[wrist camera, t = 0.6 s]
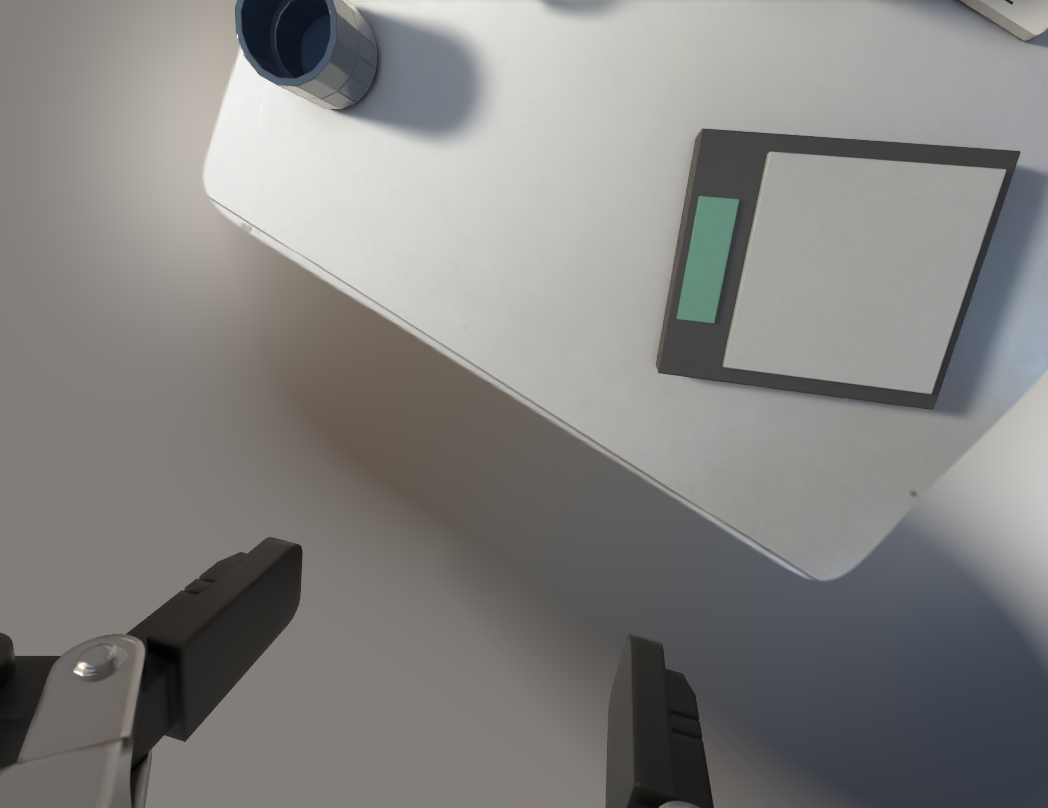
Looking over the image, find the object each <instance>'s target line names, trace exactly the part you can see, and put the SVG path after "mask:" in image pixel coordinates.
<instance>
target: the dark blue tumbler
mask: <svg viewBox="0 0 1048 808" xmlns="http://www.w3.org/2000/svg"><path fill="white" fill-rule="evenodd" d="M235 21H236V33H237V37H238V40H239V43H240V45H241V48H242V51H243V54H244V56H245V58H246V59H247V60H248V62H249V63H250V64H251V65H252V67H253V68H254V69H255V70H256V72H257V73H258V74H259V75H260V76H262V77H264V78H265V79H267V80H269V81H271V82H273V83H274V84H276V85H278V86H280V87H282V88H284V89H286V90H288V91H290V92H292V93H294V94H296V95H298V96H300V97H302V98H304V99H306V100H308V101H310V102H312V103H314V104H316V105H318V106H321V107H323V108H328V109H343V108H345V107H348V106H350V105H352V104H355V103H356V102H358V101H359V100H360V99H361V97H362V96H363V95H364V94H365V93H366V92H367V91H368V90H369V88H370V86H371V84H372V81H373V78H374V76H375V73H376V68H377V45H376V42H375V39H374V36H373V33H372V30H371V27H370V25H369V24H368V23H367V21H366V20H365V19H364V17H363V16H362V15H361V13H360V12H359V11H358V10H357V9H356V8H355V7H354V6H353V5H352V4H351V3H350V2H348V1H347V0H237V3H236V6H235Z"/></svg>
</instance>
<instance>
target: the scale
mask: <svg viewBox="0 0 1048 808" xmlns="http://www.w3.org/2000/svg"><path fill="white" fill-rule="evenodd" d="M1019 155H1020V151H1010V150H996V149H982V148H968V147H954V146H940V145H926V144H912V143H898V142H884V141H869V140H855V139H841V138H827V137H813V136H799V135H785V134H771V133H757V132H743V131H729V130H715V129H701V131H700V133H699V134H698V136H697V137H696V140H695V145H694V151H693V157H692V162H691V168H690V174H689V180H688V185H687V191H686V197H685V202H684V208H683V214H682V219H681V225H680V231H679V236H678V242H677V248H676V254H675V259H674V265H673V271H672V276H671V282H670V288H669V293H668V299H667V305H666V310H665V316H664V322H663V328H662V333H661V339H660V345H659V350H658V356H657V362H656V367H657V370H658V373H662V374H670V375H677V376H685V377H692V378H700V379H707V380H715V381H722V382H730V383H737V384H745V385H752V386H760V387H767V388H775V389H782V390H790V391H797V392H805V393H812V394H820V395H827V396H835V397H842V398H850V399H857V400H864V401H872V402H879V403H887V404H894V405H902V406H909V407H917V408H924V409H934V406H935V403H936V400H937V397H938V394H939V391H940V388H941V385H942V382H943V380H944V377H945V374H946V371H947V368H948V365H949V362H950V359H951V356H952V353H953V350H954V347H955V344H956V341H957V338H958V335H959V332H960V329H961V326H962V323H963V320H964V317H965V315H966V312H967V309H968V306H969V303H970V300H971V297H972V294H973V291H974V288H975V285H976V282H977V279H978V276H979V273H980V270H981V267H982V264H983V261H984V258H985V255H986V252H987V249H988V247H989V244H990V241H991V238H992V235H993V232H994V229H995V226H996V223H997V220H998V217H999V214H1000V211H1001V208H1002V205H1003V202H1004V199H1005V196H1006V193H1007V190H1008V187H1009V184H1010V182H1011V179H1012V176H1013V173H1014V170H1015V167H1016V164H1017V161H1018V158H1019Z"/></svg>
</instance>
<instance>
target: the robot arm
mask: <svg viewBox="0 0 1048 808" xmlns="http://www.w3.org/2000/svg"><path fill="white" fill-rule="evenodd" d="M301 573H302V547H301V546H300V545H299V544H295V543H292V542H287V541H284V540H280V539H277V538H273V537H269V538H266V539H265V540H264V541H262V542H261V543H260V544H259V545H257V547H255V548H254V549H253V550H251V551H250V552H249V553H248V554H246V553H243V552H240V553H238V554H235V555H233V556H231V557H228V558H226V559H224V560H221V561H219V562H217V563H216V564H215V565H214V566H212V567H211V568H209V569H208V570H207V571H206V572H204V573H203V574H202V575H201V576H200V578H199V579H196V580H194V581H193V582H192V583H190V584H189V585H188V586H187V587H185V590H184V591H181V592H179V593H178V594H176V595H175V596H174V597H173V598H171V599H170V600H169V601H167V602H166V603H165V604H164V605H162V606H161V607H160V608H159V609H157V610H156V611H155V612H153V613H152V614H151V615H150V616H148V617H147V618H146V619H145V620H144V621H142V622H141V623H139V624H138V625H137V626H136V627H134V628H133V629H132V630H131V631H129V632H128V633H127V634H125V635H124V634H112V635H105V636H101V637H96V638H93V639H90V640H88V641H85V642H83V643H81V644H79V645H77V646H75V647H73V648H72V649H70V650H68V651H67V652H66V653H64V654H63V655H62V656H15V655H14V648H13V643H12V640H11V639H10V637H9V636H7V635H5V634H2V633H0V808H145V803H146V795H147V789H148V781H149V774H150V767H151V760H152V748H153V747H154V746H155V744H156V743H157V742H158V741H159V740H160V739H161V738H162V737H163V736H164V735H166V736H169V737H172V738H175V739H178V740H181V741H184V742H185V741H186V740H187V739H188V738H189V736H191V735H192V733H193V732H194V731H195V730H196V729H197V728H198V727H199V725H200V724H201V723H202V722H203V721H204V720H205V718H206V717H207V716H208V715H209V714H210V713H211V712H212V711H213V709H214V708H215V707H216V706H217V705H218V704H219V703H220V701H221V700H222V699H223V698H224V697H225V696H226V695H227V693H228V692H229V691H230V690H231V689H232V688H233V687H234V685H235V684H236V683H237V682H238V681H239V680H240V679H241V677H242V676H243V675H244V674H245V673H246V672H247V671H248V670H249V668H250V667H251V666H252V665H253V664H254V663H255V662H256V660H257V659H258V658H259V657H260V656H261V655H262V654H263V652H264V651H265V650H266V649H267V648H268V647H269V646H270V645H271V643H272V642H273V641H274V640H275V639H276V638H277V637H278V635H279V634H280V633H281V632H282V631H283V630H284V629H285V627H286V626H287V625H288V624H289V623H290V621H291V620H292V618H293V616H294V614H295V612H296V610H297V607H298V605H299V601H300V593H301ZM698 720H699V715H698V709H697V702H696V696H695V694H694V692H693V690H692V689H691V687H690V686H689V684H688V682H687V681H686V679H685V677H684V675H683V674H682V673H679V672H675V671H671V670H668V669H665V661H664V651H663V645H662V643H661V642H658V641H654V640H650V639H647V638H643V637H639V636H635V635H632V634H629V635H628V637H627V639H626V642H625V646H624V649H623V653H622V656H621V659H620V663H619V666H618V669H617V673H616V676H615V680H614V683H613V687H612V692H611V697H610V703H609V712H608V740H607V778H606V808H714V806H713V801H712V794H711V788H710V782H709V776H708V769H707V763H706V757H705V752H704V745H703V741H702V733H701V727H700V722H699V721H698Z"/></svg>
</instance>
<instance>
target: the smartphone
mask: <svg viewBox="0 0 1048 808" xmlns="http://www.w3.org/2000/svg"><path fill="white" fill-rule="evenodd" d="M960 1H962V2H963V3H965V4H966V5H968V6H969V7H971V8H973V9H974V10H976V11H977V12H979V13H981V14H982V15H984V16H985V17H987V18H988V19H990V20H992V21H993V22H995V23H996V24H998V25H1000V26H1001V27H1003V28H1004V29H1006V30H1007V31H1009V32H1011V33H1012V34H1014V35H1015V36H1017V37H1019V38H1020V39H1022V40H1023V41H1027V40H1030V39H1032V38H1034V37H1035V36H1037V35H1039V34H1041V33H1043V32H1044V31H1045V30H1046V29H1047V28H1048V0H960Z"/></svg>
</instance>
